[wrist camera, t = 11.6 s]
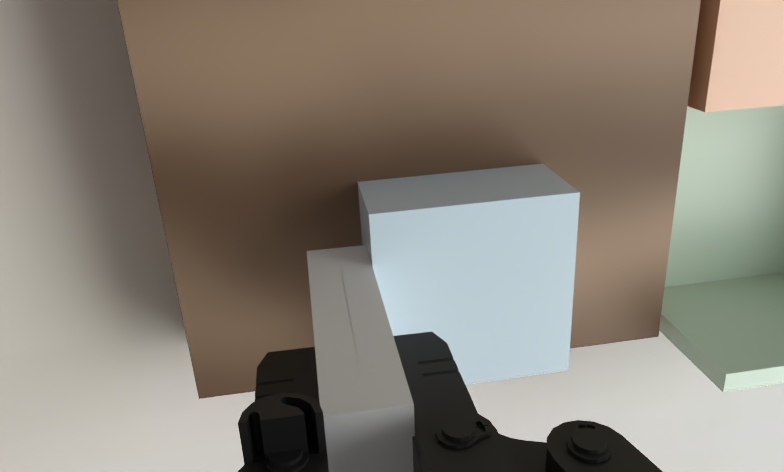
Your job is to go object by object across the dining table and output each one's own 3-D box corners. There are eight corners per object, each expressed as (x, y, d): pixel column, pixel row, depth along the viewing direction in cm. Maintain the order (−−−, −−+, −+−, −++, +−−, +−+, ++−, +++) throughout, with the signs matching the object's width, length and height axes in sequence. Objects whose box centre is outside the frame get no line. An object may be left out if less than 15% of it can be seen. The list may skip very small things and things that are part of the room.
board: (125, -103, 16) (93, -116, 14) (652, -126, 18) (718, -142, 15) (209, 342, 21) (199, 398, 19) (613, 292, 23) (658, 336, 20)
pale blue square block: (357, 181, 17) (368, 214, 15) (542, 163, 17) (580, 192, 15) (370, 346, 19) (381, 396, 17) (536, 324, 19) (568, 370, 17)
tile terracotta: (678, -88, 18) (733, -95, 16) (842, -96, 18) (918, -104, 16) (658, 95, 20) (704, 112, 18) (807, 82, 20) (870, 97, 18)
